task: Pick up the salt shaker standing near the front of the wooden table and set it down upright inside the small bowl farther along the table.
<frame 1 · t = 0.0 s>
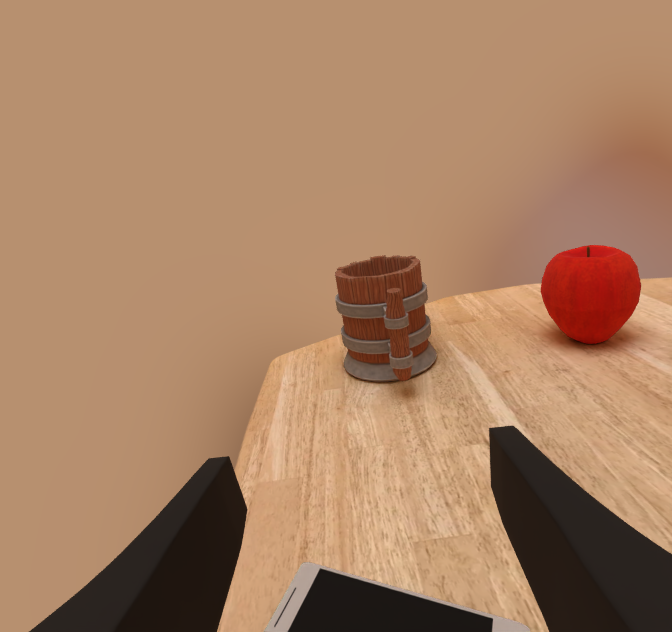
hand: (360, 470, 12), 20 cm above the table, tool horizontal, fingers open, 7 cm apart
mug: (393, 369, 61), on the table
apple: (587, 339, 60), on the table
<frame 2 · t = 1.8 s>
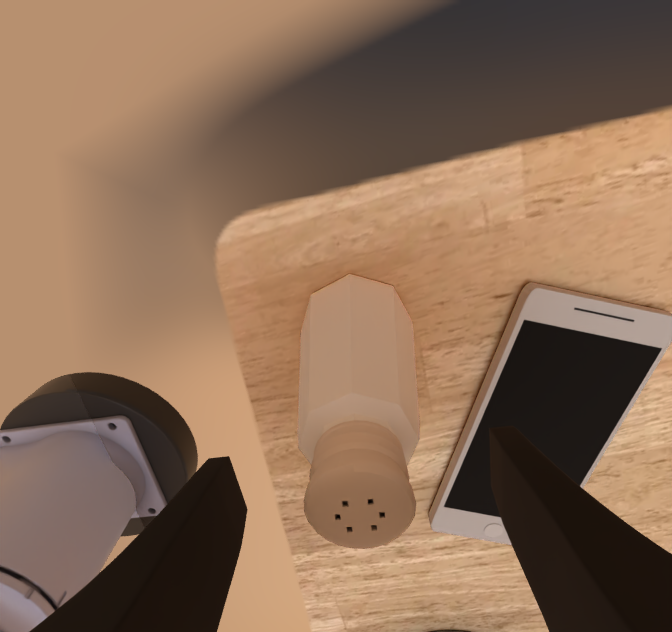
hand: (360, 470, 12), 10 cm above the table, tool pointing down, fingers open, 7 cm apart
smartphone: (531, 426, 22), on the table
salt shaker: (355, 323, 20), on the table
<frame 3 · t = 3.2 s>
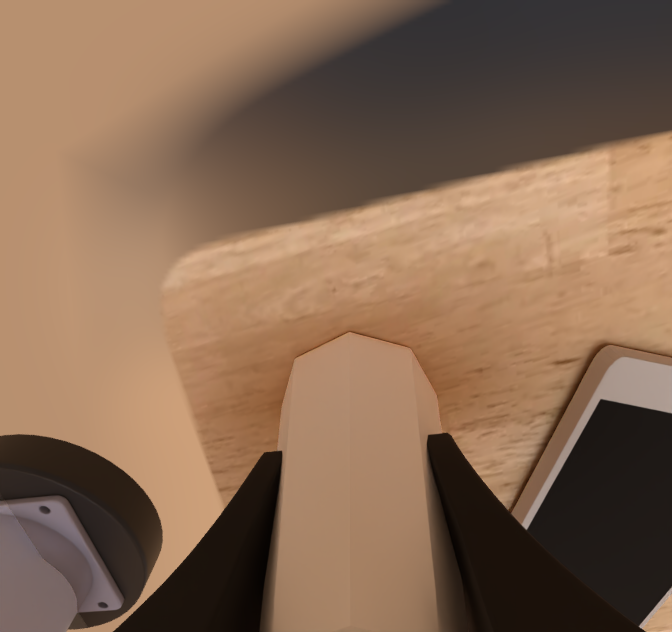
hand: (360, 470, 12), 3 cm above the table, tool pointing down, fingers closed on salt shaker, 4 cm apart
smartphone: (594, 524, 17), on the table
salt shaker: (357, 395, 15), on the table, touching gripper
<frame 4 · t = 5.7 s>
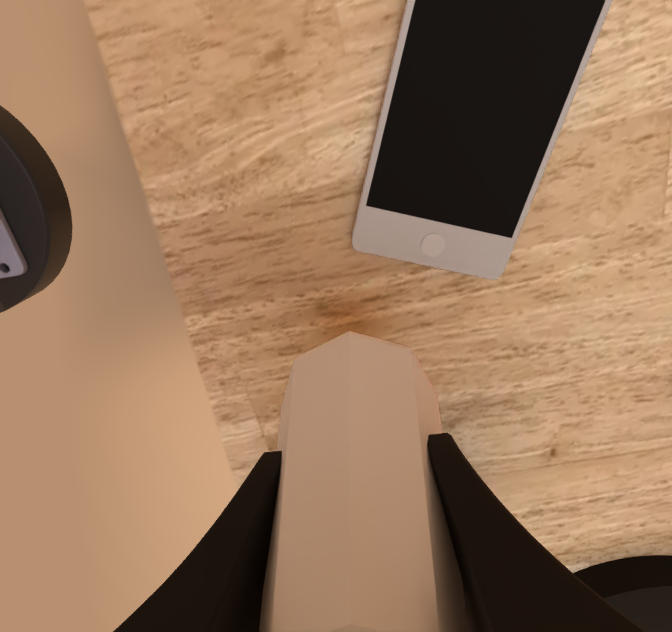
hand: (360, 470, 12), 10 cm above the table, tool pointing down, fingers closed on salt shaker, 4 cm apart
wireless charger: (622, 631, 32), on the table
smartphone: (478, 77, 17), on the table
salt shaker: (357, 394, 15), point 7 cm above the table, touching gripper
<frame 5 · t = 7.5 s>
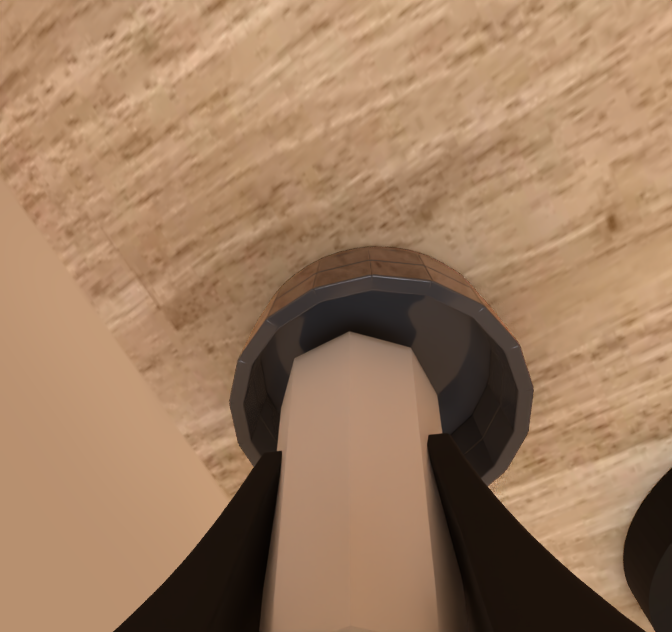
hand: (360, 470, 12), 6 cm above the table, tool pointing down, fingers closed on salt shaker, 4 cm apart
bowl: (374, 365, 17), on the table
salt shaker: (357, 395, 15), point 3 cm above the table, touching gripper
when the fingers open (4 cm above the table, at t = 8.6 s): salt shaker stays where it is, resting on bowl.
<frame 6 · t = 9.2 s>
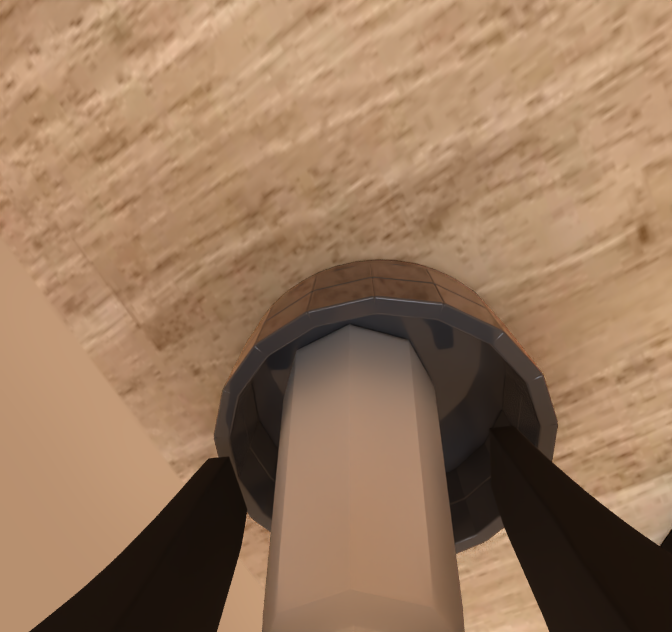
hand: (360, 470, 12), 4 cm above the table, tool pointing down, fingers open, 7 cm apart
bowl: (376, 388, 16), on the table
salt shaker: (357, 386, 15), resting on bowl
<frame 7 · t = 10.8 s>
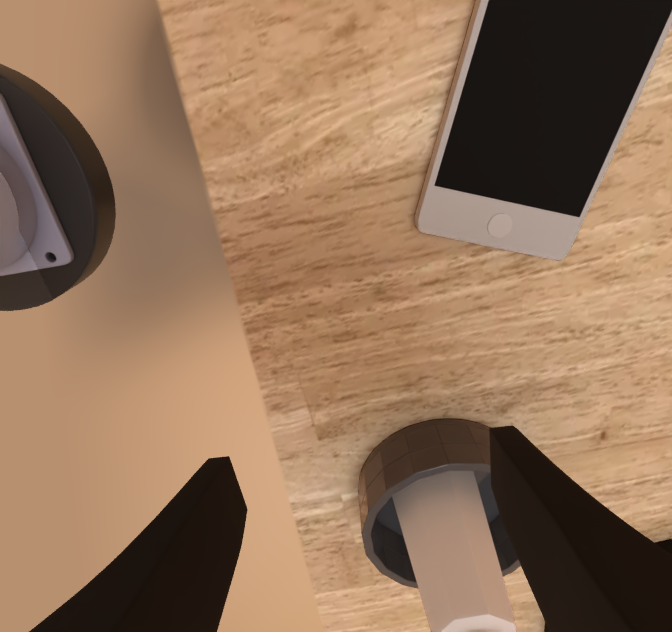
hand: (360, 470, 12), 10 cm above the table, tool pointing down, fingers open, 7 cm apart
smartphone: (551, 52, 16), on the table
bowl: (439, 483, 26), on the table
salt shaker: (431, 481, 25), resting on bowl
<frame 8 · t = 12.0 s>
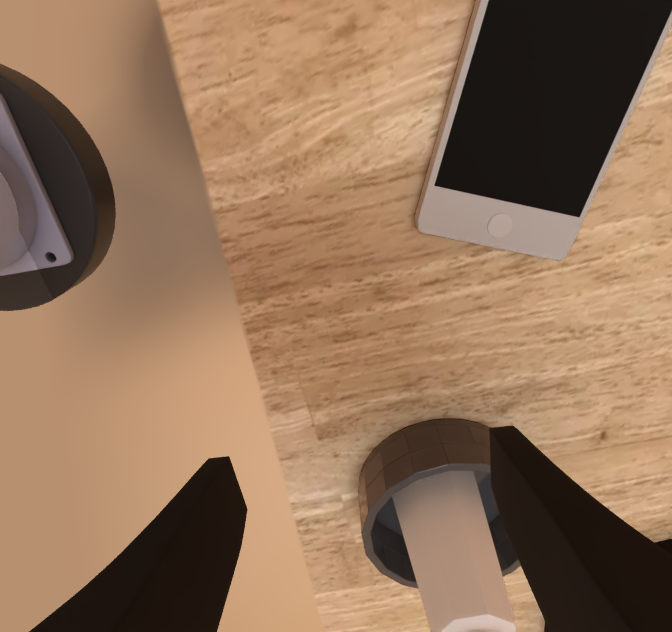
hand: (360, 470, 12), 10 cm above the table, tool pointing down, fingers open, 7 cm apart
smartphone: (551, 52, 16), on the table
bowl: (439, 483, 26), on the table
salt shaker: (431, 481, 25), resting on bowl
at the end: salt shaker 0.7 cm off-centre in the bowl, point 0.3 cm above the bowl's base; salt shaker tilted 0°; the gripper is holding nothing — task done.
